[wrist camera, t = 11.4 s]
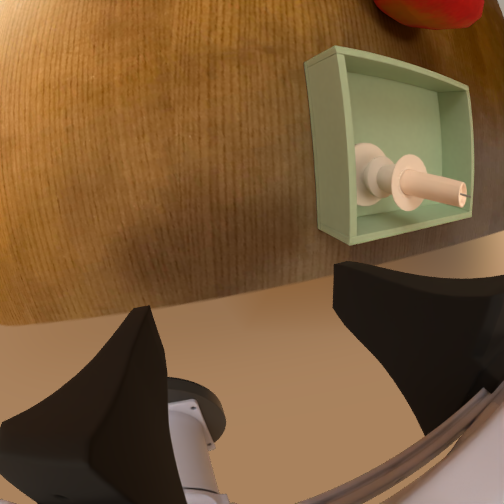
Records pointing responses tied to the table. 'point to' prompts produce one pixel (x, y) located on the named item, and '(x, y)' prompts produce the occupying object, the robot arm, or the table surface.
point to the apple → (433, 12)
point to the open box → (384, 138)
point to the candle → (401, 181)
